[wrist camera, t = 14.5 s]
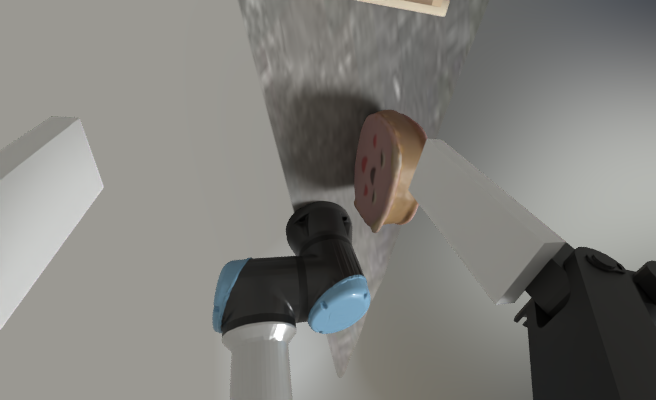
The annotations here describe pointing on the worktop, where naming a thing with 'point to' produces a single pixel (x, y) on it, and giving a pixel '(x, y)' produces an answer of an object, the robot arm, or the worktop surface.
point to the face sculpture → (387, 168)
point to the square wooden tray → (415, 5)
